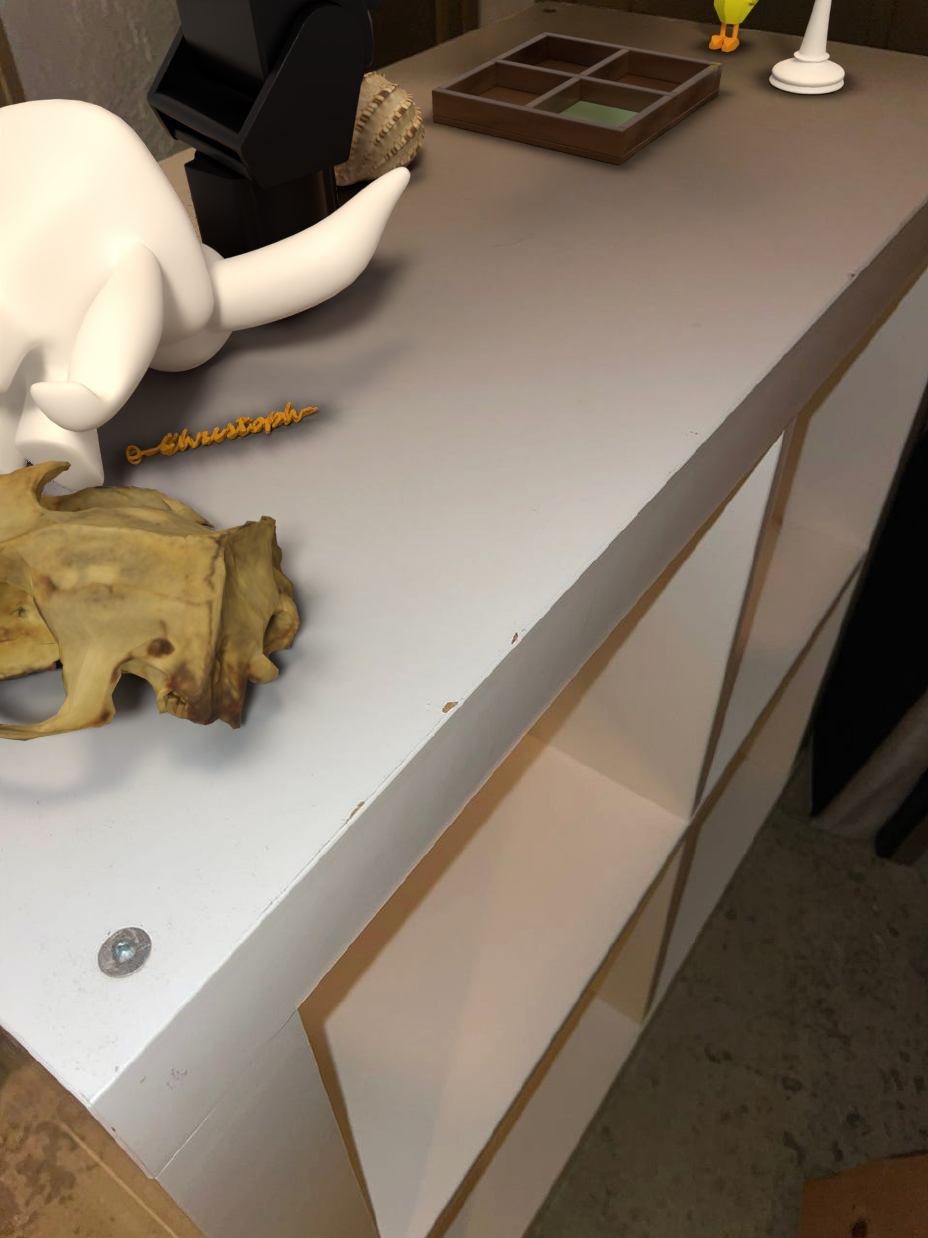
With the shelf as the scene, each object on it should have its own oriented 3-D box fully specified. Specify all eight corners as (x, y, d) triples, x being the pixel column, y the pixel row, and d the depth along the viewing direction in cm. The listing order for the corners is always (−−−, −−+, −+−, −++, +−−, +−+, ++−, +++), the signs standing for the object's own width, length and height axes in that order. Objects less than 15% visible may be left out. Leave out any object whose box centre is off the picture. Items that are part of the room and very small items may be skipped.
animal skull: (-118, 642, 35) (-232, 490, 30) (295, 536, 36) (243, 376, 32) (-204, 876, 27) (-374, 717, 23) (328, 731, 28) (264, 553, 24)
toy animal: (310, 557, 35) (436, 220, 41) (70, 309, 25) (287, -83, 31) (-50, 542, 43) (102, 267, 50) (-332, 356, 34) (-96, 44, 40)
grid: (619, 165, 57) (622, 131, 55) (432, 121, 62) (431, 89, 61) (718, 94, 64) (723, 62, 63) (544, 60, 70) (545, 31, 69)
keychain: (131, 472, 38) (123, 448, 37) (129, 463, 38) (121, 439, 38) (322, 422, 39) (317, 399, 39) (316, 415, 40) (311, 392, 40)
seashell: (380, 261, 55) (450, 128, 58) (345, 183, 50) (424, 39, 52) (270, 237, 58) (341, 110, 60) (226, 160, 52) (306, 24, 55)
